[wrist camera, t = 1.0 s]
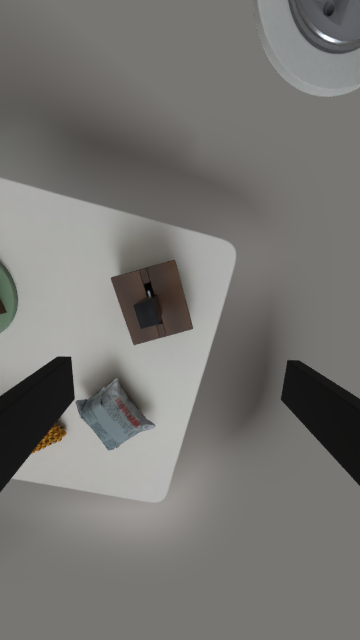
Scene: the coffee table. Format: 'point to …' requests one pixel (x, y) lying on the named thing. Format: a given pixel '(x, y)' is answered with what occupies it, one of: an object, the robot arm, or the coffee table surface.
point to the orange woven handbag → (51, 437)
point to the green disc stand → (7, 298)
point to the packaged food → (113, 415)
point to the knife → (148, 310)
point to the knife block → (169, 295)
